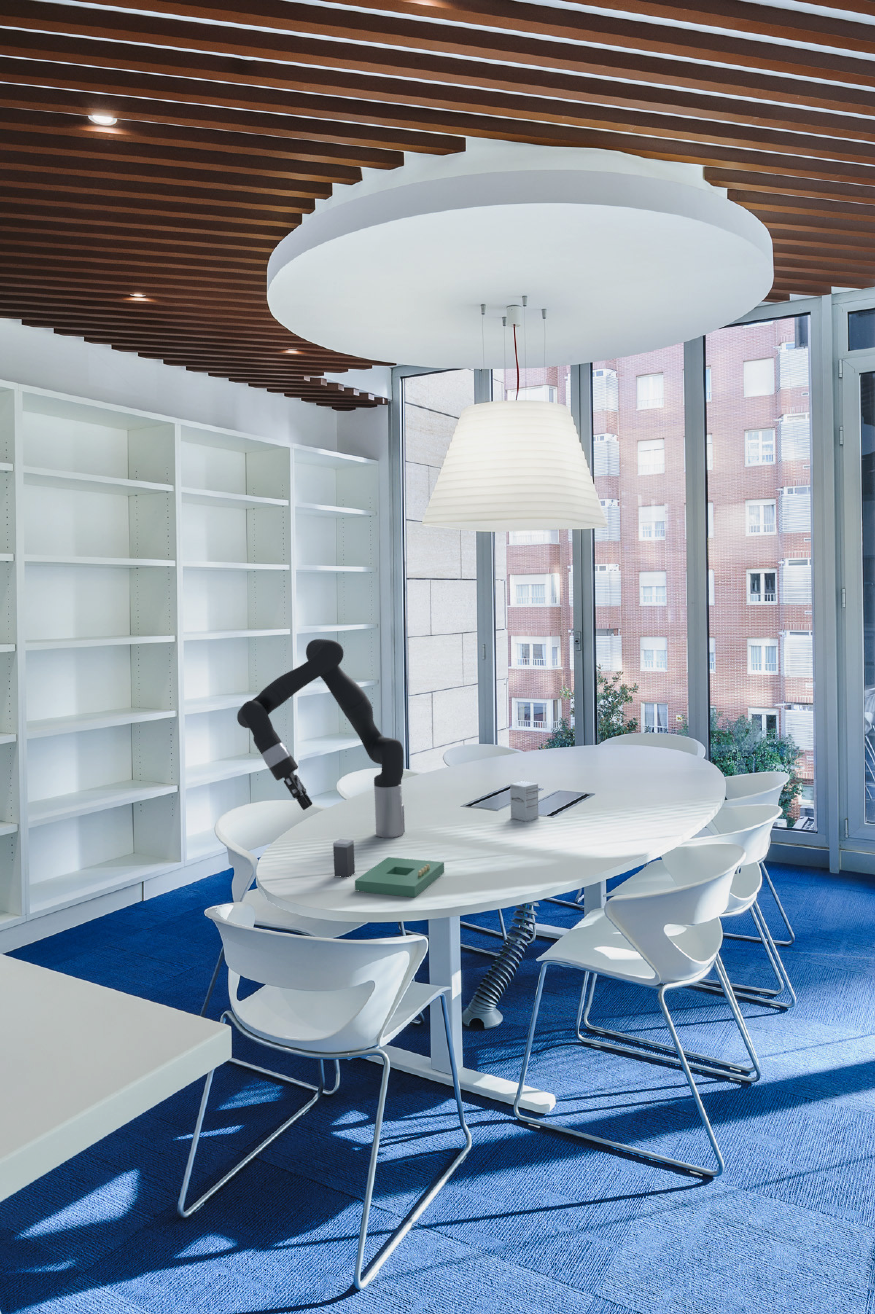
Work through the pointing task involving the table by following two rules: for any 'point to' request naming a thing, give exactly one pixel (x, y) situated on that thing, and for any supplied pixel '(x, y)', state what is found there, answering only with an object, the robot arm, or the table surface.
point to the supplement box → (524, 800)
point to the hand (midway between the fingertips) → (308, 807)
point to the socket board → (400, 877)
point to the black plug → (343, 857)
